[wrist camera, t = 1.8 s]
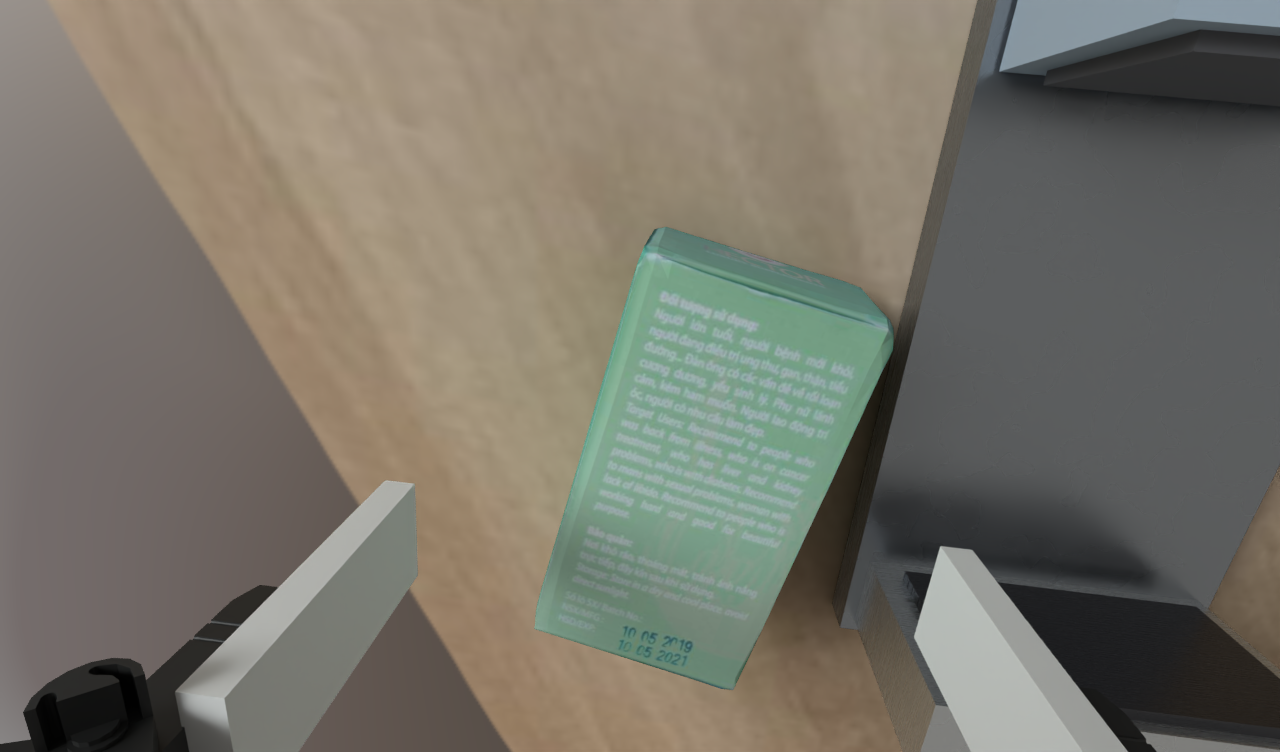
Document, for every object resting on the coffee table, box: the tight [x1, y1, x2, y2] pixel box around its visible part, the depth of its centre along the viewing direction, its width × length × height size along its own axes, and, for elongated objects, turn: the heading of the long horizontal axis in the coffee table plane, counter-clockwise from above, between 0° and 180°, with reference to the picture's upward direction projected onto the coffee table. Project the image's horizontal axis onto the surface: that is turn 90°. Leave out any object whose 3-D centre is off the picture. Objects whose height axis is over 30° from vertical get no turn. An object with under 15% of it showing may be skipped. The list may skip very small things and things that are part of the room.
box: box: [534, 227, 894, 690], centre depth 21 cm, size 7×14×8 cm, turn 164°
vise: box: [832, 0, 1280, 752], centre depth 19 cm, size 26×14×8 cm, turn 175°
